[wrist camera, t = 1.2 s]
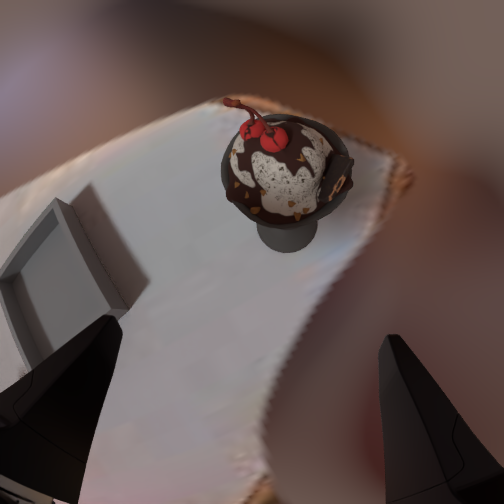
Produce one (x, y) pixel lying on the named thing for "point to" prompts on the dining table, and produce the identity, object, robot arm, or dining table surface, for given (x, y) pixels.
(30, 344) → the tray
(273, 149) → the sundae
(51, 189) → the dining table surface
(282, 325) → the dining table surface
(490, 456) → the robot arm
